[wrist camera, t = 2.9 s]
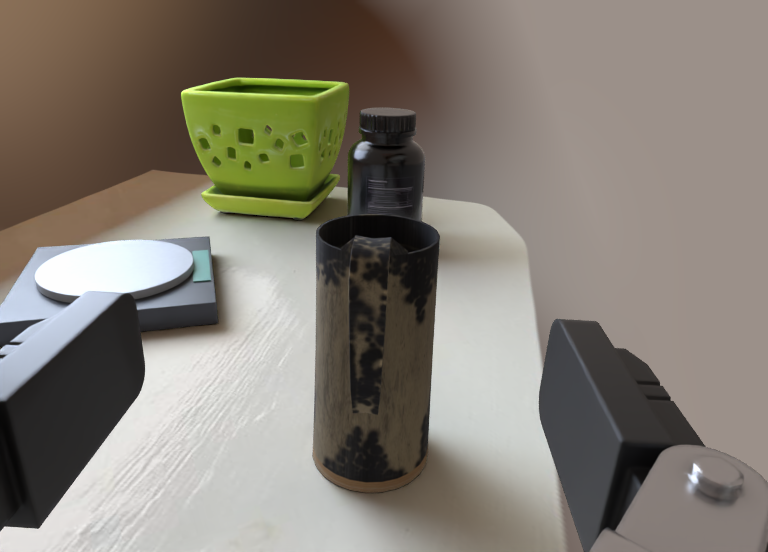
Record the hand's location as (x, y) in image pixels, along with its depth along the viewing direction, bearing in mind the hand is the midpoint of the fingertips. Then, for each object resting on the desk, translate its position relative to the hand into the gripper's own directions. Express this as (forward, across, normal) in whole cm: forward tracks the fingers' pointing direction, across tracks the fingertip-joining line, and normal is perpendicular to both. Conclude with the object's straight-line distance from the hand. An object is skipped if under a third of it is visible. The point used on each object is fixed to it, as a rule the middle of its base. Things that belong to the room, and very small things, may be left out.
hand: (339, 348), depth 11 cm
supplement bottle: (+41, 0, +13) cm, 43 cm away
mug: (+11, 0, +13) cm, 17 cm away
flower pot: (+51, +13, +13) cm, 54 cm away
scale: (+28, +19, +13) cm, 36 cm away
